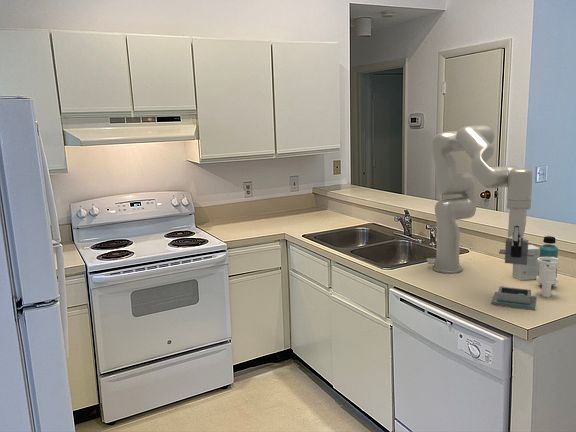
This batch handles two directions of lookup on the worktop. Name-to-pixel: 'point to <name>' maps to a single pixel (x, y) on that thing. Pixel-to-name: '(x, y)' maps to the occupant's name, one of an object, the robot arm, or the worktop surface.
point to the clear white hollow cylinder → (547, 274)
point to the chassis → (514, 298)
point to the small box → (528, 266)
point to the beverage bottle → (549, 251)
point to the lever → (524, 252)
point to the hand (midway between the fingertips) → (516, 254)
